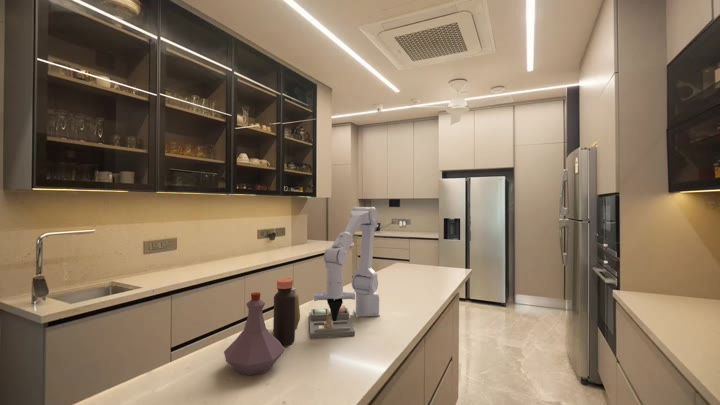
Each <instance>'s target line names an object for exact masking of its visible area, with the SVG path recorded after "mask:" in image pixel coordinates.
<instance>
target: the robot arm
mask: <svg viewBox="0 0 720 405" xmlns="http://www.w3.org/2000/svg"><path fill="white" fill-rule="evenodd" d="M349 214H350V215H349V218H350V219H349V222H348V223H347V225H346V227H345V230H343V231H342V232H340V233H339V234H338V235H337V237H336V239H335V240H334V242H333V244H332V245H331V247H328V248H326V250H324V255H323V261H324V263H325V268H326V292H321V293H314V294H313V301H314V302H317V301H327V305H328V307H329V309H330V310H331V313H332V320H333V321H337V315H338V312H339V309H340V307H341V305H342V306H343V303H344V302H343V300H355V309H353V313H354V315H355V317H358V318H359V317H360V318H363V317H380V294H379V292H378V291H377V290H378V287H379V280H378V273H377V272H376V271H375V270H374V269H373V268H372V266H373V255H374V241H375V229H376V228H378V219H379V213H378V210H377V208H376V207H374V206H353V207H352V209H351V211H350V213H349ZM359 228H360V229H361V231H362V233H361V244H360V254H359V255H360V256H359V267H358V268H357V269H355V270H354V271H353V276H352V279H351V287H352V289H353V290H354V292H346V291H345V292H344V290H343V289H344V264H345V263H346V262H347V259H348V258H347V257H348V251H349V249H350V247H351V245H352V244H353V243H354V237H353V236H354V234H355V233H356V232H357V230H358V229H359Z"/></svg>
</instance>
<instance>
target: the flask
mask: <svg viewBox="0 0 720 405" xmlns="http://www.w3.org/2000/svg"><path fill="white" fill-rule="evenodd" d="M250 298H251V299H250V300H249V301H247V303H245V305H246V307H247V309H248V312H247V314H248V315H247V319H246V321H245V326H244V327H243V328H244V329H243V330H242V331H241V332H240V334H239V335H238V336H237V338H236V339H235V340H234V341H232V343H231V344H230V345H229V346H228V347H227V348H226V349H225V350H224V351H223V354H224V358H225V361H226V363H227V364H228V365H229V366H230V367H232V368H233V370H235V371H236V372H237V374H241V373H242V375H248V376H254V375H258V373H259V374H263V373H266V372H267V371H268V370H269V369H270V368H272V366H273V365H274V364H275V363H276V362H277V360H279V358H280V357H281V356H282V355H283V353H284V352H285V351H286V349H285V346H282V344H281V343H280V342H279V341H278V340H277V339H276V338H275V337H274V336H273V334H272V333H271V332H270V331H269V330H268V329H267V326H266V323H265V319H264V315H263V310H264V306H265V305H266V302H264V301H263V300H262V299H261V292H251V293H250ZM253 374H254V375H253Z"/></svg>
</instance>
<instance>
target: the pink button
mask: <svg viewBox="0 0 720 405" xmlns="http://www.w3.org/2000/svg"><path fill="white" fill-rule="evenodd" d="M345 308H346V306H345V305H343V304H342V305H341V307H340V309H339V312H338V314H340V313H345Z"/></svg>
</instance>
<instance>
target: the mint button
mask: <svg viewBox="0 0 720 405" xmlns="http://www.w3.org/2000/svg"><path fill="white" fill-rule="evenodd" d="M315 309H316V310H315V311H314V315H317V314H326V310H325V309H326V308H315Z"/></svg>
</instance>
